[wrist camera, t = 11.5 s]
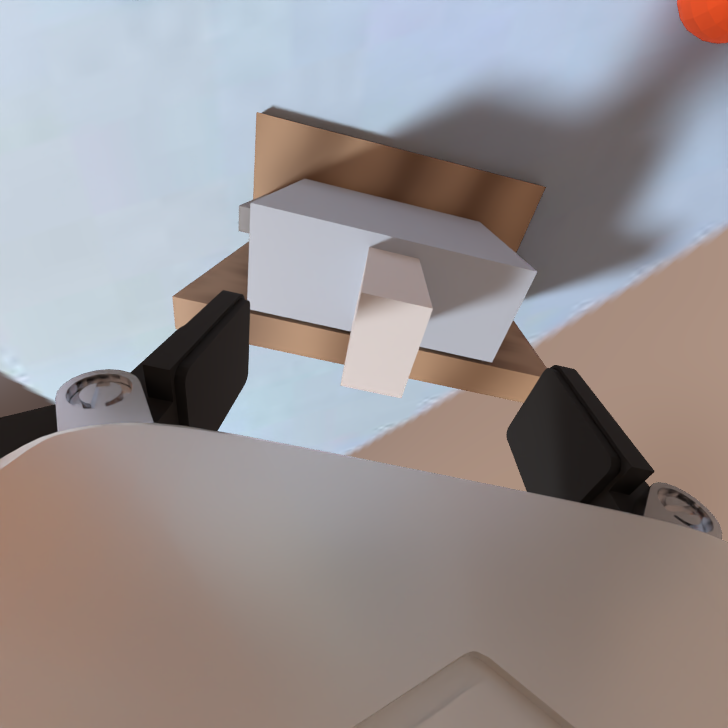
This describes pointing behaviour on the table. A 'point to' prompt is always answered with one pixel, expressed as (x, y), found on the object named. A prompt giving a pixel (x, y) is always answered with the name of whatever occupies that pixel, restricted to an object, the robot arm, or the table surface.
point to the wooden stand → (395, 182)
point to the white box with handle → (383, 278)
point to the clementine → (705, 19)
